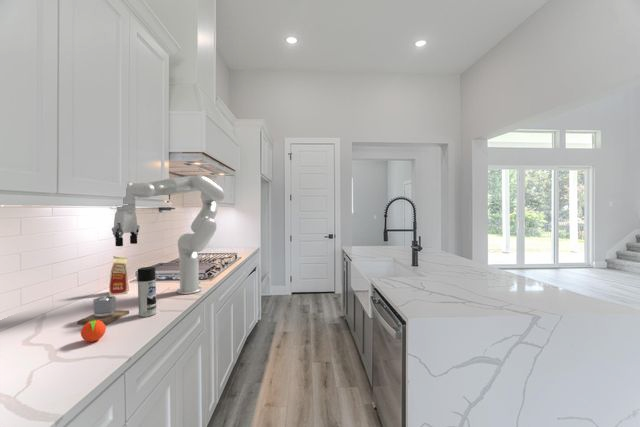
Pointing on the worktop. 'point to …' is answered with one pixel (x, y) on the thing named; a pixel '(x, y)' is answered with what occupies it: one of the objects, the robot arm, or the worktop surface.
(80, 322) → the base plate
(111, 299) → the octagonal pot
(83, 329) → the clementine
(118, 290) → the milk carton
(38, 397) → the worktop surface
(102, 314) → the grey rounded fixture
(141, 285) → the spray can
